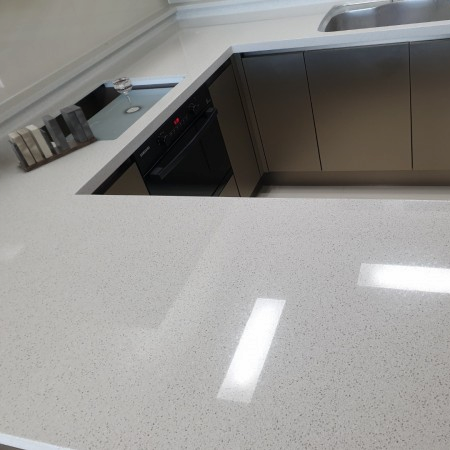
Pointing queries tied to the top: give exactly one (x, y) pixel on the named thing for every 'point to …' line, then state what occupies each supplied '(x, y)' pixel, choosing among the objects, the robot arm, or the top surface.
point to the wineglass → (124, 89)
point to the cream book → (39, 141)
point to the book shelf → (30, 152)
